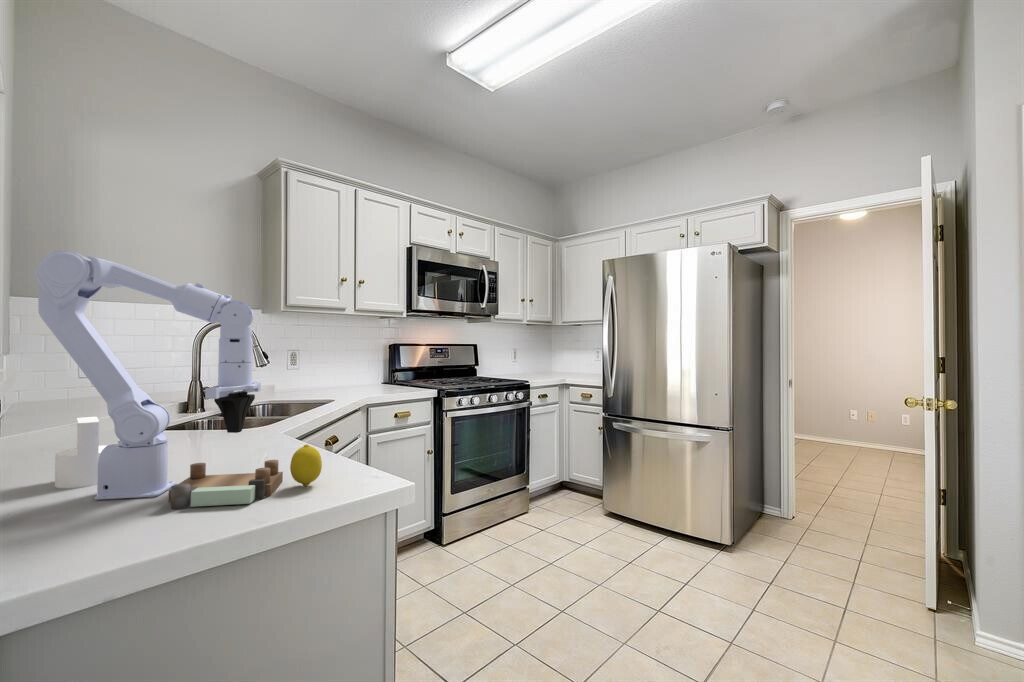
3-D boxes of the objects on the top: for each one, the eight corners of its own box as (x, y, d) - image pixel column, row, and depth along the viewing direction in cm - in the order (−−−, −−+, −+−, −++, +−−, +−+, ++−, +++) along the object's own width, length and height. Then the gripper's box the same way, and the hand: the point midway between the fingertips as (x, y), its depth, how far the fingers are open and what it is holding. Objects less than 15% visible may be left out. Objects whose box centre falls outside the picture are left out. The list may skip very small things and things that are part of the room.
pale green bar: (190, 506, 78) (190, 492, 78) (197, 501, 80) (197, 487, 80) (250, 503, 80) (250, 489, 80) (254, 498, 82) (255, 485, 82)
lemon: (326, 482, 93) (327, 442, 93) (312, 491, 88) (312, 448, 88) (300, 481, 94) (300, 441, 94) (283, 490, 88) (284, 447, 88)
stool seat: (155, 510, 77) (156, 482, 77) (190, 486, 90) (191, 462, 90) (263, 504, 80) (264, 477, 80) (282, 481, 93) (282, 459, 93)
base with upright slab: (118, 481, 92) (119, 420, 92) (54, 491, 86) (55, 425, 86) (114, 472, 99) (115, 414, 99) (55, 480, 93) (56, 419, 93)
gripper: (232, 364, 85) (231, 439, 85) (275, 361, 100) (274, 426, 99) (194, 363, 85) (193, 439, 85) (242, 360, 100) (241, 425, 100)
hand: (234, 432), depth 92 cm, fingers closed
